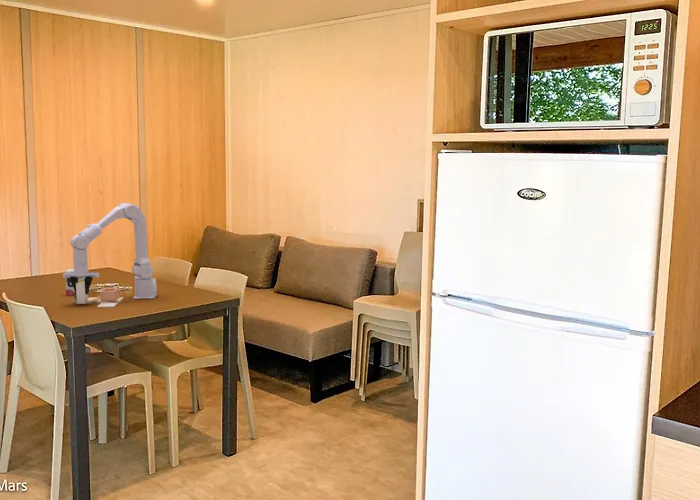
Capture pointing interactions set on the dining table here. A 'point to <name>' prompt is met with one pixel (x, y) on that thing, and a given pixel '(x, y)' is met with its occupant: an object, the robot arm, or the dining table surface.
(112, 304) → the grey mat
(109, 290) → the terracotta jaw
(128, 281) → the dining table surface
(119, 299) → the birch vise base
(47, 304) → the dining table surface
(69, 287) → the ink box
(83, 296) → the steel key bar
